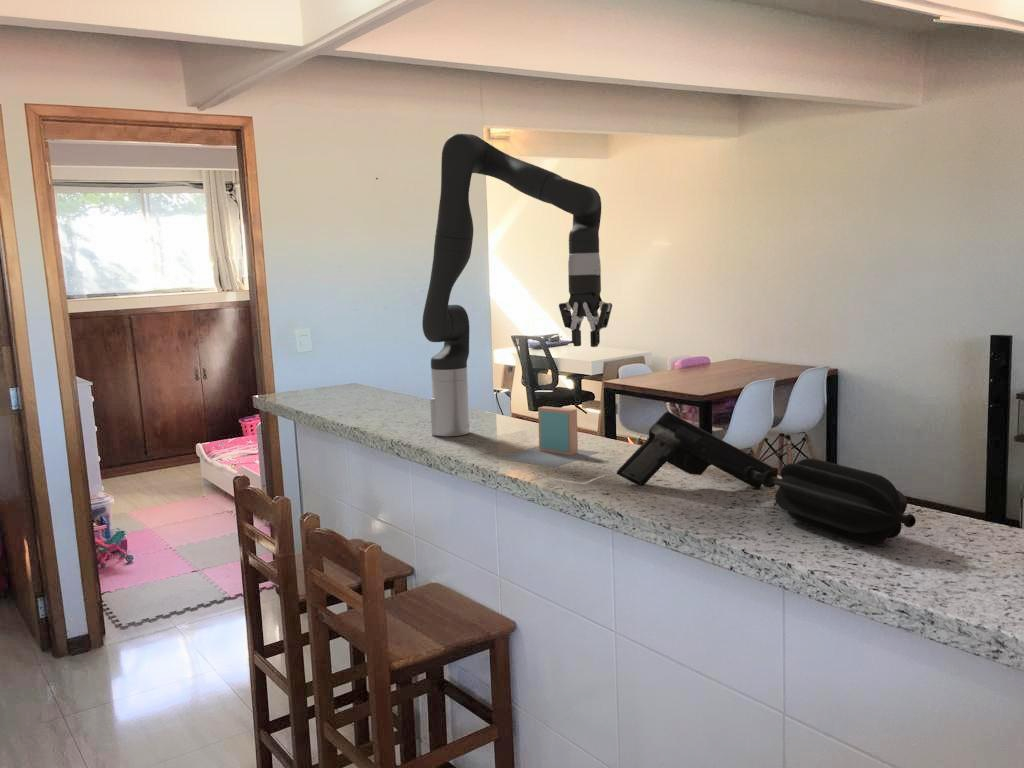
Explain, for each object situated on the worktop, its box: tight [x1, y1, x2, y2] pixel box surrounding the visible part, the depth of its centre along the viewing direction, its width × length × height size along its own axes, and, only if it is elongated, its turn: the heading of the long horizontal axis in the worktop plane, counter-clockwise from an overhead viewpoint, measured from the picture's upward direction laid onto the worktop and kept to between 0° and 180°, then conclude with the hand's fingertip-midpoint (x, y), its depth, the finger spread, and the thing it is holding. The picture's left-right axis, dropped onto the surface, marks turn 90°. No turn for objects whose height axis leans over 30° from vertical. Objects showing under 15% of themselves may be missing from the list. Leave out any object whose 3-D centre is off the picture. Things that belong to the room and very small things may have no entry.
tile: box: [537, 405, 579, 455], centre depth 190 cm, size 9×3×10 cm, turn 51°
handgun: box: [616, 410, 772, 490], centre depth 158 cm, size 2×24×15 cm, turn 78°
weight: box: [743, 458, 916, 545], centre depth 132 cm, size 34×10×10 cm, turn 25°
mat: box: [496, 445, 600, 468], centre depth 187 cm, size 16×17×1 cm
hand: (585, 346), depth 198 cm, fingers open, 4 cm apart
